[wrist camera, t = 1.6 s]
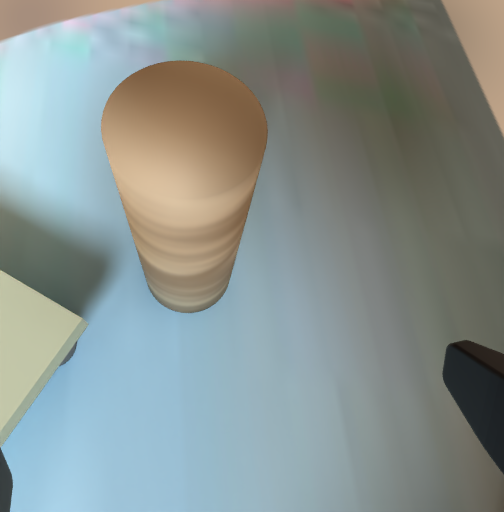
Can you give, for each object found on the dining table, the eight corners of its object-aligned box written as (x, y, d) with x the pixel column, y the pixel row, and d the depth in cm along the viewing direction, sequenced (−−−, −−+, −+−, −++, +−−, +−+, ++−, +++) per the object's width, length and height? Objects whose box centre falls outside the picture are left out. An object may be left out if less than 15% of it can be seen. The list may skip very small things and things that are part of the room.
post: (202, 328, 23) (215, 229, 11) (129, 285, 23) (65, 144, 11) (244, 259, 24) (294, 108, 13) (175, 220, 24) (161, 36, 13)
